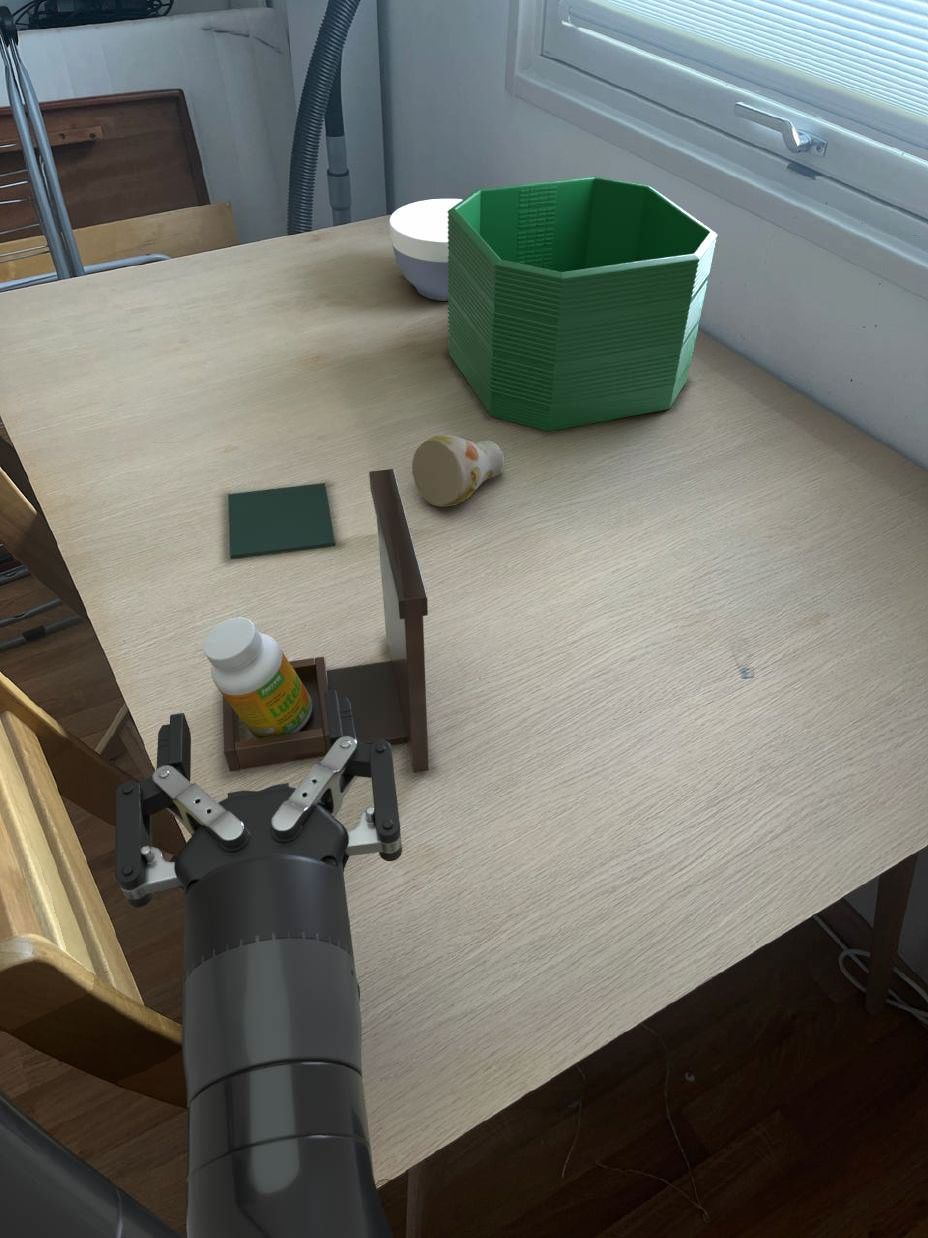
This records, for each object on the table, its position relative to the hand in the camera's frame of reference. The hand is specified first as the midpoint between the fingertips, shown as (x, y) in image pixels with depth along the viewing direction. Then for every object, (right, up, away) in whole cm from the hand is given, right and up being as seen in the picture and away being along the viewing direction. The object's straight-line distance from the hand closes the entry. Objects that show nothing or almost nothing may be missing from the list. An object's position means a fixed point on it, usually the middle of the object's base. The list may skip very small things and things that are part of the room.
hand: (256, 710), depth 50 cm
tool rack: (+1, -2, +20) cm, 20 cm away
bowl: (+9, +53, +77) cm, 94 cm away
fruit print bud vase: (+12, +19, +42) cm, 48 cm away
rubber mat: (-7, +15, +38) cm, 41 cm away
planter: (+25, +37, +60) cm, 75 cm away
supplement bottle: (-2, -2, +19) cm, 20 cm away
